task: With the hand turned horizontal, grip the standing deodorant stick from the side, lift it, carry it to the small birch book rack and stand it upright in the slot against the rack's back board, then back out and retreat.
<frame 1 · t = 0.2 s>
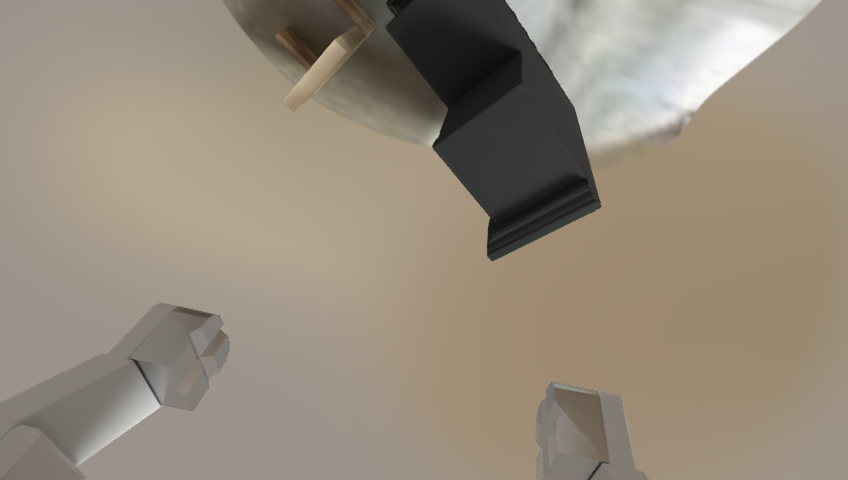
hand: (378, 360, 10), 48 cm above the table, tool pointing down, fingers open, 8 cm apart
bookend: (484, 55, 51), on the table
rack: (319, 17, 51), on the table
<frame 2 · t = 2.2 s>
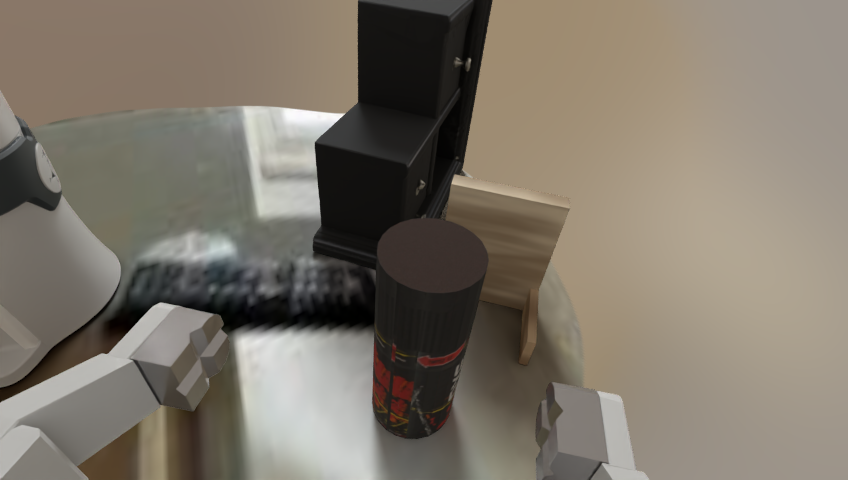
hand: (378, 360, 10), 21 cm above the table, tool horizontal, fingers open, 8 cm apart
deodorant: (411, 401, 32), on the table
bookend: (398, 205, 52), on the table
rack: (475, 333, 38), on the table
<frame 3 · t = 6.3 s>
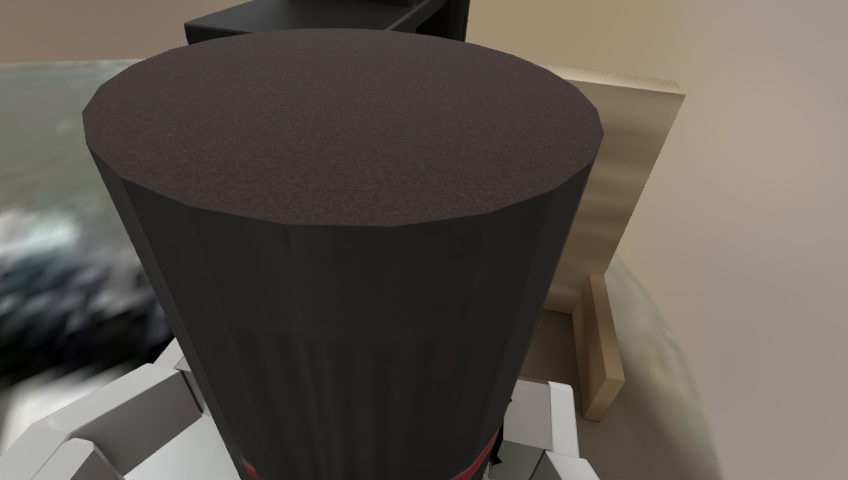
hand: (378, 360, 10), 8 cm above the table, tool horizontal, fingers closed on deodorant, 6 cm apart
bookend: (362, 167, 34), on the table
rack: (495, 361, 20), on the table
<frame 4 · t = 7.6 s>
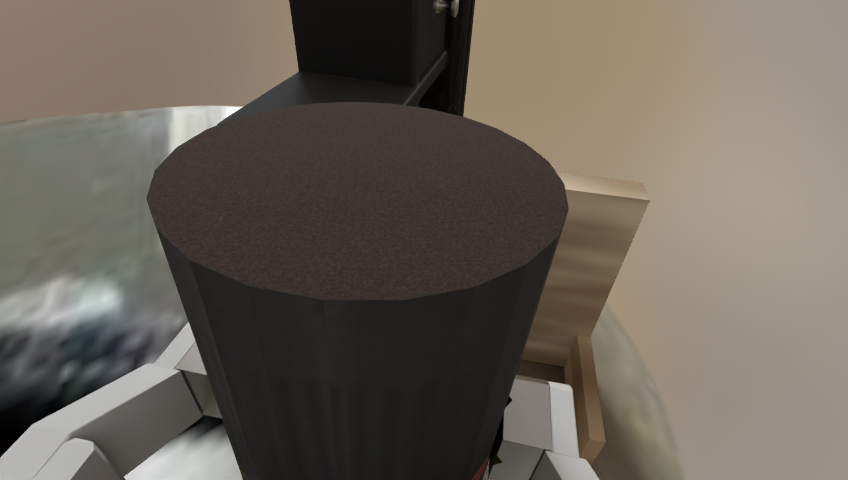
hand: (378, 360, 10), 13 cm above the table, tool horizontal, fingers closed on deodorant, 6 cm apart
bookend: (372, 218, 37), on the table
rack: (495, 416, 23), on the table
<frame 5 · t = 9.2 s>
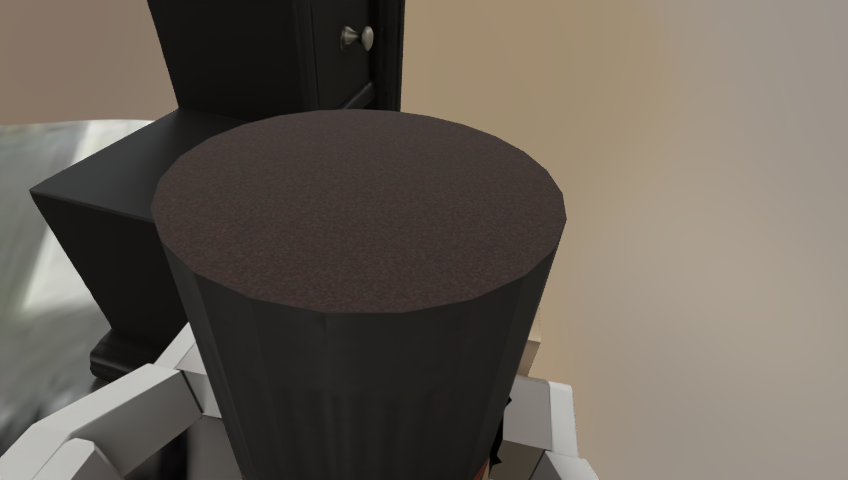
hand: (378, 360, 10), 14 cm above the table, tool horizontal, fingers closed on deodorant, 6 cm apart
bookend: (283, 270, 33), on the table
when the fingers open (9 cm above the table, at t = 10.5 s): deodorant stays where it is, on the table.
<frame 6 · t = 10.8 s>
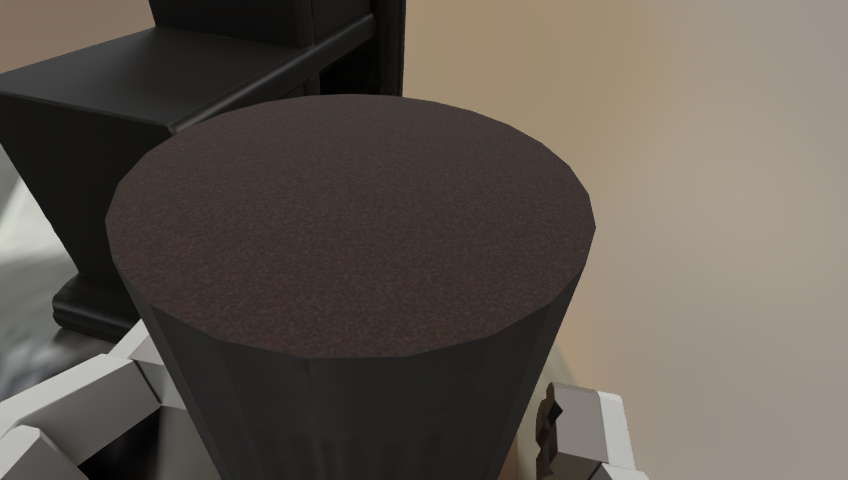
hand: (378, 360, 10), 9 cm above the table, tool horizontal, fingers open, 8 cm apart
bookend: (276, 224, 30), on the table
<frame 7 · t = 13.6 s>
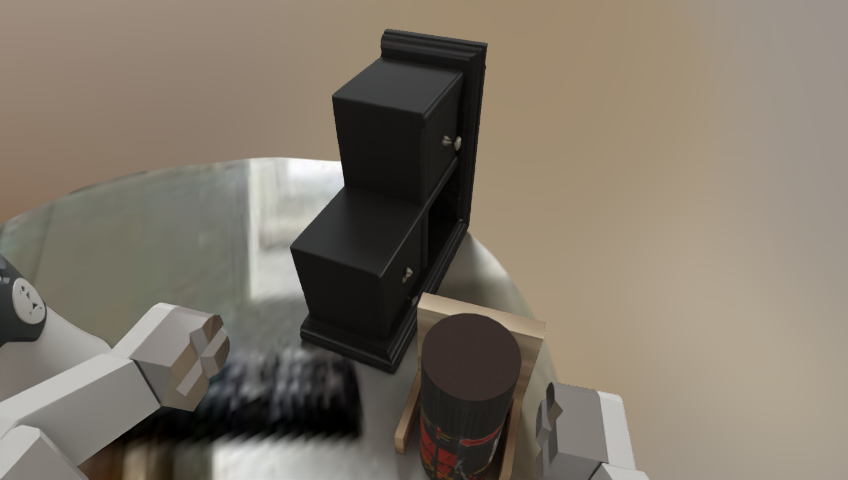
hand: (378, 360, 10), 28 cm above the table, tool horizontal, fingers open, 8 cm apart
deodorant: (455, 452, 36), on the table
bookend: (395, 277, 50), on the table
rack: (455, 445, 36), on the table
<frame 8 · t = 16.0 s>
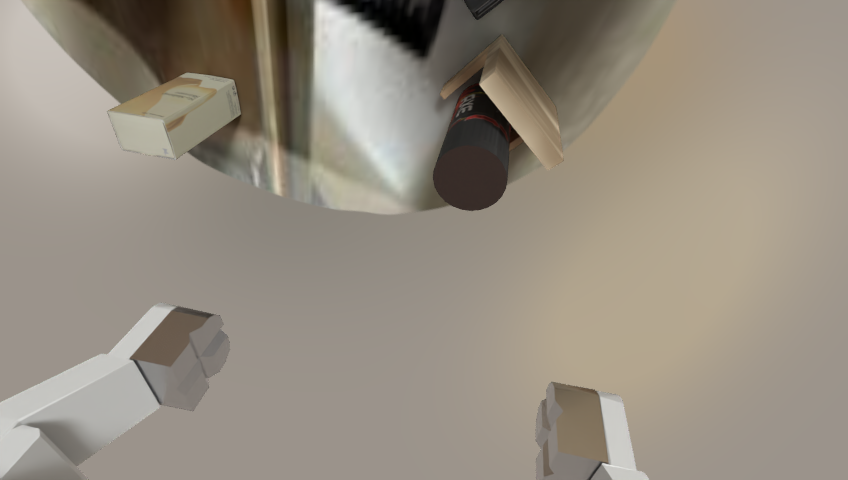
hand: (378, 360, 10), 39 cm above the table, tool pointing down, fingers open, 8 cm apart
deodorant: (483, 109, 46), on the table
skincare box: (214, 92, 51), on the table
rack: (486, 106, 46), on the table
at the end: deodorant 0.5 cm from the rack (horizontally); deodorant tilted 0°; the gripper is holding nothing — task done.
